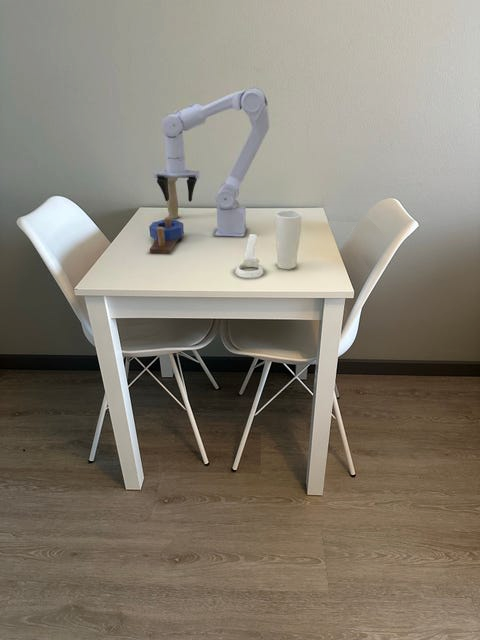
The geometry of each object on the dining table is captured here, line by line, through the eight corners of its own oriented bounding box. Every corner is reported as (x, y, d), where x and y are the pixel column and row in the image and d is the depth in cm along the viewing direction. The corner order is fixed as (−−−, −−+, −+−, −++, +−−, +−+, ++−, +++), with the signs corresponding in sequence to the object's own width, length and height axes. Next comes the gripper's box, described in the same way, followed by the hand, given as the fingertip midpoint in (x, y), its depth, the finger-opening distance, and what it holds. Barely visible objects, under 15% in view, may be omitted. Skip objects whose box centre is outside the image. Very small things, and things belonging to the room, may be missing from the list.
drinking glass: (292, 273, 127) (294, 219, 119) (270, 267, 130) (271, 215, 122) (302, 264, 132) (305, 212, 124) (281, 259, 135) (283, 208, 127)
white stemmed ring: (267, 243, 132) (271, 237, 125) (259, 284, 131) (263, 280, 124) (241, 237, 131) (243, 231, 124) (233, 279, 130) (235, 275, 123)
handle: (170, 221, 166) (166, 178, 158) (164, 216, 171) (160, 174, 163) (183, 219, 168) (179, 176, 160) (176, 214, 173) (173, 172, 165)
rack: (180, 236, 152) (179, 215, 149) (169, 254, 140) (167, 231, 136) (162, 235, 153) (160, 215, 149) (150, 253, 140) (147, 231, 137)
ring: (185, 230, 153) (185, 220, 151) (179, 241, 145) (178, 230, 143) (156, 229, 154) (155, 219, 152) (147, 240, 146) (146, 229, 144)
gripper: (149, 159, 142) (153, 203, 149) (195, 159, 140) (198, 204, 147) (155, 154, 148) (159, 197, 155) (200, 155, 146) (202, 198, 153)
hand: (178, 200), depth 151 cm, fingers open, 7 cm apart
